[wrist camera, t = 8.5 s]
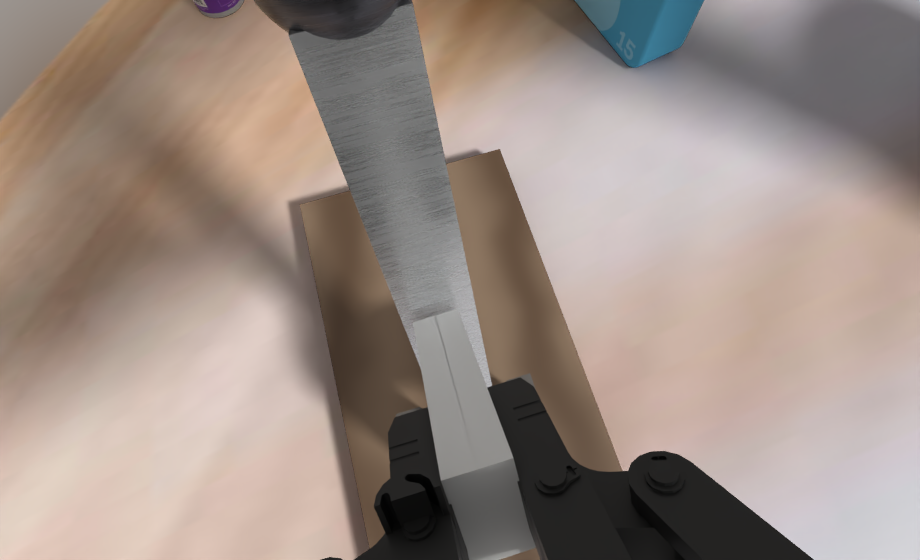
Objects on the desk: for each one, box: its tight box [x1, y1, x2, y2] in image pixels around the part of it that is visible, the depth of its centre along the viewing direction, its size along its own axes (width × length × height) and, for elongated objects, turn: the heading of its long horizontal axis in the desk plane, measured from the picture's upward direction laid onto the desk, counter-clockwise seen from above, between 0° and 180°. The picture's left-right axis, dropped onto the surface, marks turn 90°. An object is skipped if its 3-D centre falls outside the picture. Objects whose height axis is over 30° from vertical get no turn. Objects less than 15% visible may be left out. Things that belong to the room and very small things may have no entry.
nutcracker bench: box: [300, 149, 622, 560], centre depth 30 cm, size 16×28×10 cm, turn 16°
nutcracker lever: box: [254, 0, 492, 387], centre depth 18 cm, size 4×8×24 cm, turn 16°
